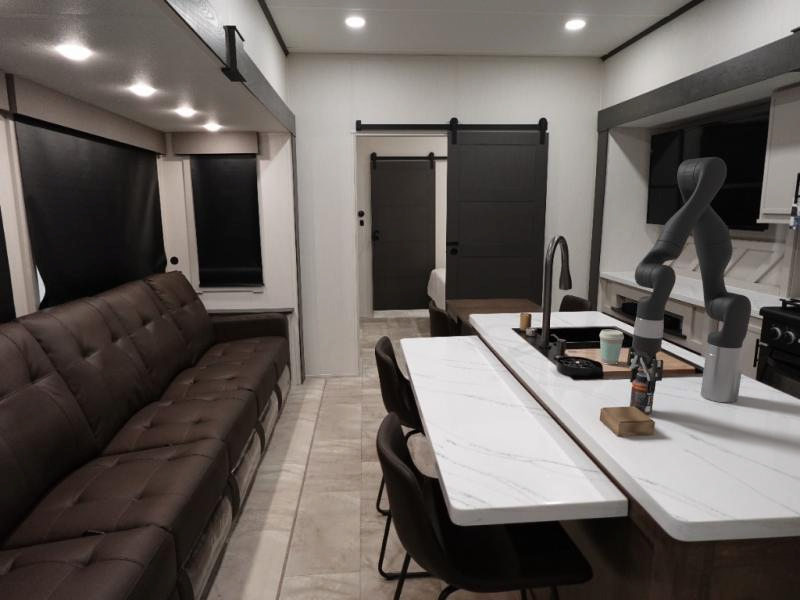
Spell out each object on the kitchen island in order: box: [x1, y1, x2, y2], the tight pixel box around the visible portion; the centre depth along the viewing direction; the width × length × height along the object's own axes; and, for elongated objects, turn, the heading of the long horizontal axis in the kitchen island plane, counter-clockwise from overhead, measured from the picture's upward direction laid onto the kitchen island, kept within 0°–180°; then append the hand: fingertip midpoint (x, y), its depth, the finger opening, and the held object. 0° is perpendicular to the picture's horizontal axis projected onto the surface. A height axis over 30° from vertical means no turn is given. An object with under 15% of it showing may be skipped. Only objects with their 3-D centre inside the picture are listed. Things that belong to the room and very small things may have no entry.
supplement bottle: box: [629, 372, 655, 416], centre depth 154 cm, size 6×6×11 cm
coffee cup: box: [599, 329, 625, 364], centre depth 199 cm, size 8×8×12 cm
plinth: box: [599, 405, 656, 437], centre depth 144 cm, size 10×10×4 cm
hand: (641, 387), depth 154 cm, fingers open, 8 cm apart
